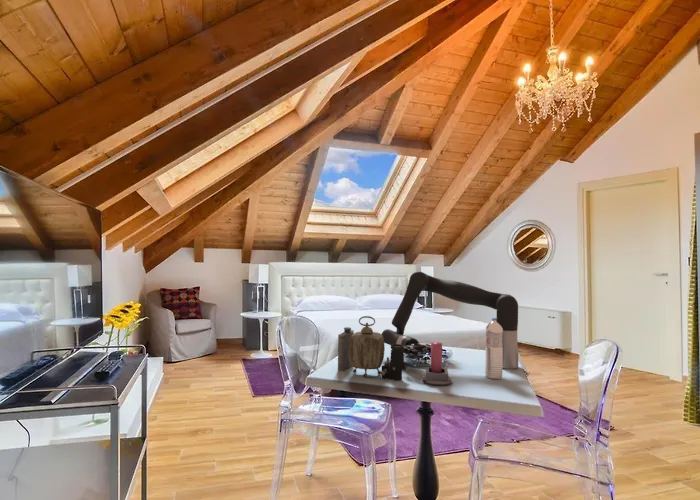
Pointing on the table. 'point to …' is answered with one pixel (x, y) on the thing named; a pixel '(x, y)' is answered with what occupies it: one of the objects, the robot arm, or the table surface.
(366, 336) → the tabletop clock
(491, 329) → the water bottle
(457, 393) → the table surface
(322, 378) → the table surface
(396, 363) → the scope
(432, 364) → the candle
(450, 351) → the table surface
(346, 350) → the flask
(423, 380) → the candle holder
